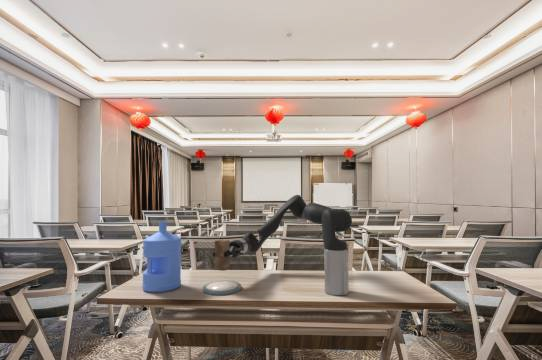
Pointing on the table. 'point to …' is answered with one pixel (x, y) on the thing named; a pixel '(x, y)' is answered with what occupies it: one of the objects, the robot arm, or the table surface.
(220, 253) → the walnut block
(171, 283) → the water jug
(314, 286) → the table surface
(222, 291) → the teal dish
